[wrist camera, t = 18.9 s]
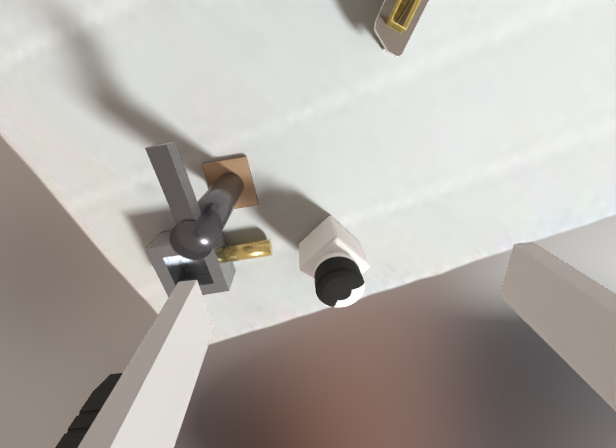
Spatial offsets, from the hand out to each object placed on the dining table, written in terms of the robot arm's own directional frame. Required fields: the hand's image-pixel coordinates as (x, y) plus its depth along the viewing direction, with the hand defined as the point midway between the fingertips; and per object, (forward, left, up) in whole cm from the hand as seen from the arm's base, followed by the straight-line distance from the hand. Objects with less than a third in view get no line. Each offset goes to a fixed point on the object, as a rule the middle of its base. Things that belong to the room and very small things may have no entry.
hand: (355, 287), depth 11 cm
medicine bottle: (+14, +1, -28) cm, 32 cm away
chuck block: (+12, -16, -28) cm, 35 cm away
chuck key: (-1, -12, -27) cm, 30 cm away
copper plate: (+2, -12, -28) cm, 30 cm away
